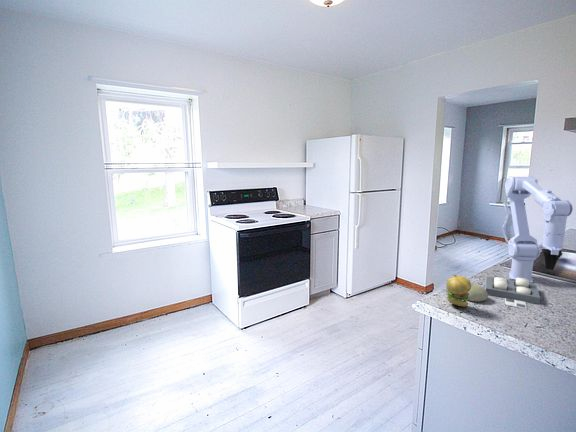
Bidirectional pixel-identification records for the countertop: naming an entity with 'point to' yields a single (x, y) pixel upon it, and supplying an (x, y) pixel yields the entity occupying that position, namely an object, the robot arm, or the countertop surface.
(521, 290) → the button
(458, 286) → the hamburger
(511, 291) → the board
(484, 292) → the sea urchin shell
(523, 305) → the tile
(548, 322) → the countertop surface
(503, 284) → the button
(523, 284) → the button
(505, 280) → the button
